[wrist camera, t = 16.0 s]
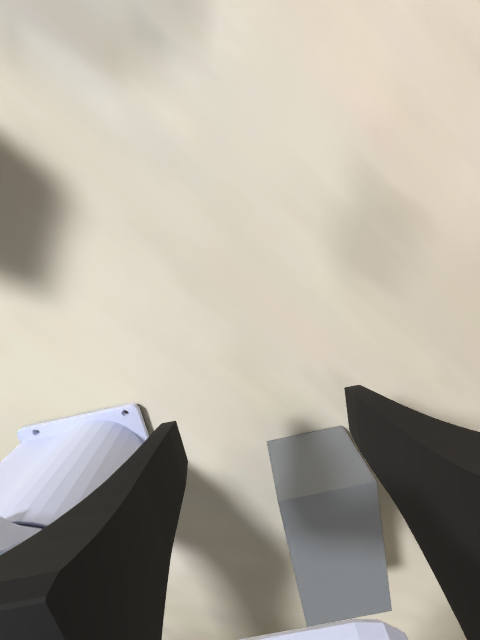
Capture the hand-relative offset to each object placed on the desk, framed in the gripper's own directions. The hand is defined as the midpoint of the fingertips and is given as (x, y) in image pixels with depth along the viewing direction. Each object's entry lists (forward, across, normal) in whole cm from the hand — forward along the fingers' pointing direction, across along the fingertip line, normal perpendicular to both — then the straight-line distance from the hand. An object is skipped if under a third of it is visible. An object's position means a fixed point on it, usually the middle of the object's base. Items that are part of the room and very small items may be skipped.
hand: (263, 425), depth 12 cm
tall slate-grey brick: (+9, -3, +14) cm, 17 cm away
